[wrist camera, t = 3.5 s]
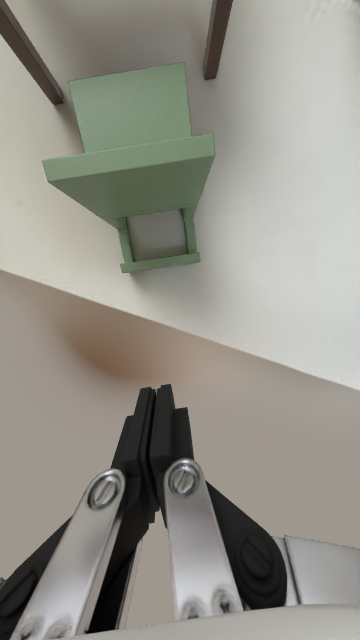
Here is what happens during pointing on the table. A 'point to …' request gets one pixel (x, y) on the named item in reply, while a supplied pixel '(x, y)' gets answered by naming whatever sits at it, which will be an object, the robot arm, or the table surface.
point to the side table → (14, 35)
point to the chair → (136, 153)
